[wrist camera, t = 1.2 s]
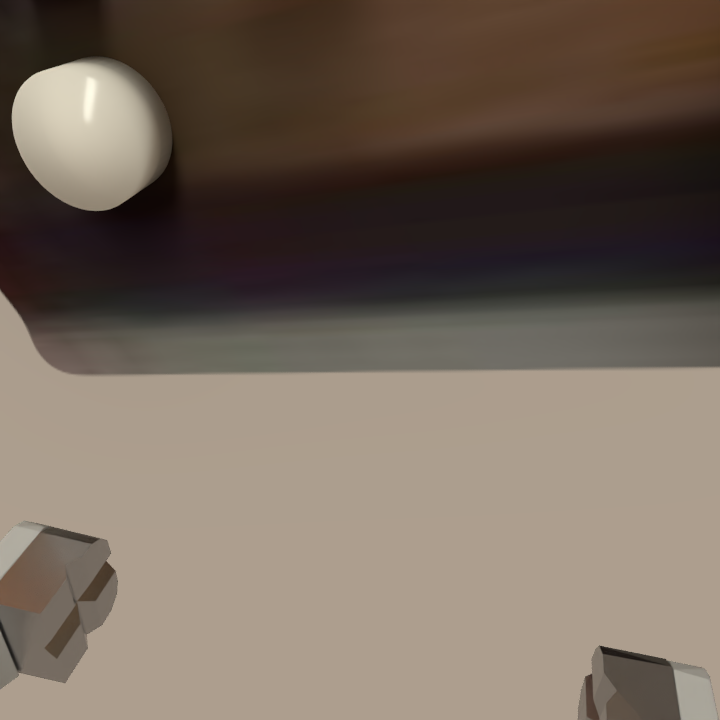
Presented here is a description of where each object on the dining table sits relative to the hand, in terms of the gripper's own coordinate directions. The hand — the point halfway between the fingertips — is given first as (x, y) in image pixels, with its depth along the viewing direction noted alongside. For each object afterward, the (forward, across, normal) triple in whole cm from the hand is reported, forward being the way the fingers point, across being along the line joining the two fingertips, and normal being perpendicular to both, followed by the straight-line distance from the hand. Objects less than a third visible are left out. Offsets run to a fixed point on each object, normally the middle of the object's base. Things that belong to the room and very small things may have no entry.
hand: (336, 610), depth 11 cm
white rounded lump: (+37, +26, +4) cm, 45 cm away
